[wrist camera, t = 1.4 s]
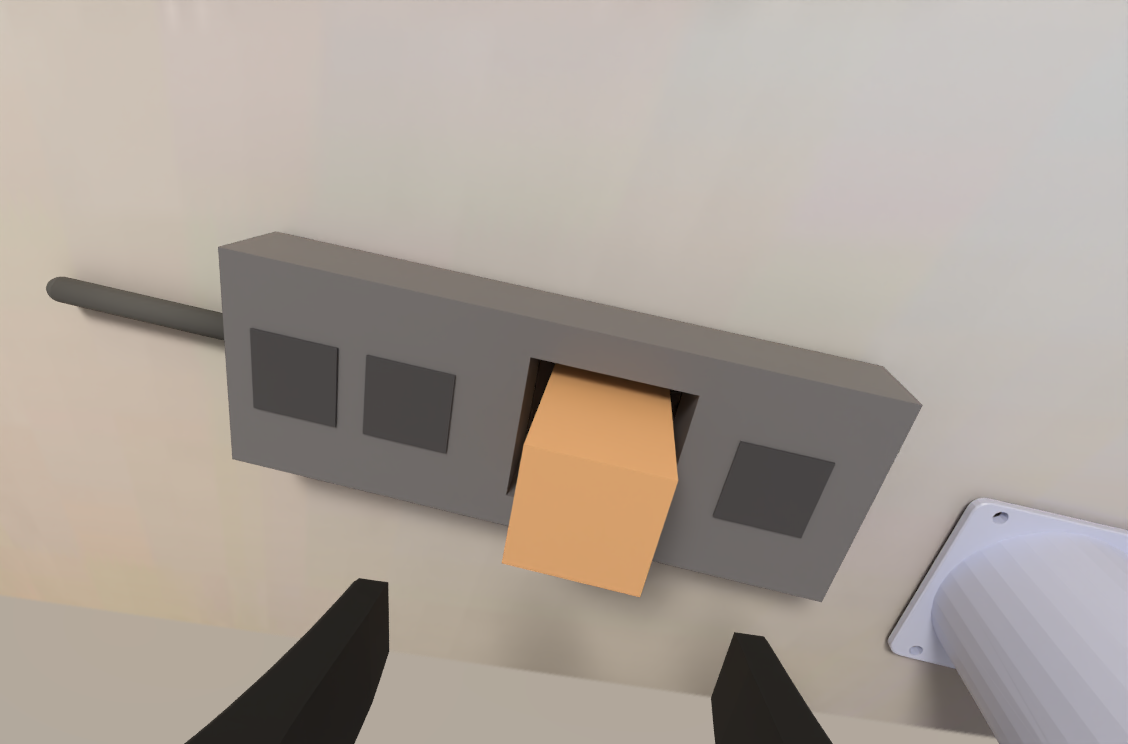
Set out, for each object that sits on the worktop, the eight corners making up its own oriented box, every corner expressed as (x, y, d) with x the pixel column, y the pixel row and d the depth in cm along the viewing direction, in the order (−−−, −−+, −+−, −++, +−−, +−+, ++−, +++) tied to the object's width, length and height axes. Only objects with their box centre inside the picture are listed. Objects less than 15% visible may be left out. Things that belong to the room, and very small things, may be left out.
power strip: (883, 366, 19) (924, 406, 16) (800, 545, 23) (822, 604, 20) (44, 180, 21) (-51, 187, 18) (80, 373, 24) (5, 405, 21)
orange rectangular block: (668, 372, 20) (678, 480, 14) (641, 463, 22) (639, 597, 16) (561, 348, 21) (523, 444, 14) (543, 440, 22) (501, 563, 16)
